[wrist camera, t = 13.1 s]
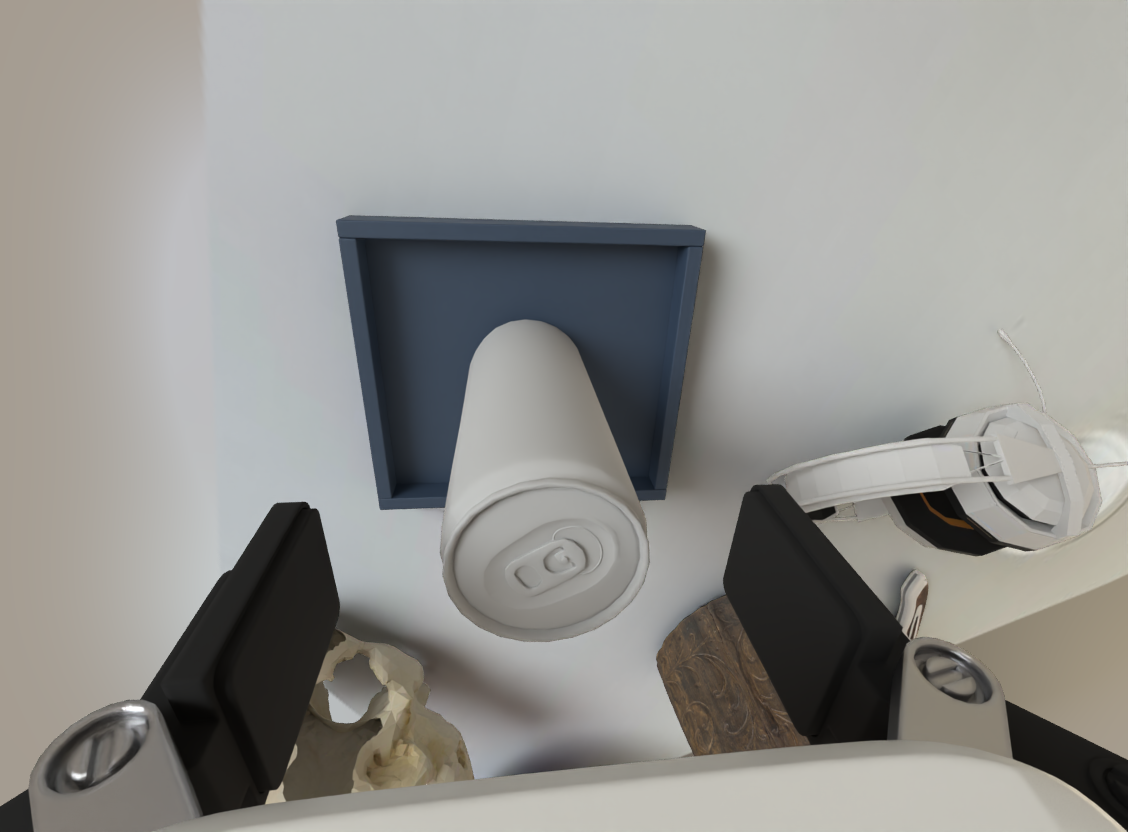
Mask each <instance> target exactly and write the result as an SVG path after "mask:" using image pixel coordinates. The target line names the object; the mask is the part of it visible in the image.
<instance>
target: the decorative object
mask: <svg viewBox="0 0 1128 832" xmlns="http://www.w3.org/2000/svg"><path fill="white" fill-rule="evenodd" d="M355 654H363V655H365V656H367V657H369V658H370V660H369V664H370V665H369V666H370V668H371V669H373V671H374V674H375V675H376V677H377V679H378V680H379V681H381V683H382V685H386V686H387V687H383V689H382V691H381V692H379V693H377V694H376V695H375V696H374V697H373V698H372V699H371V701H370V704H369V707H368V710H367V712H366V713H365V714H364V715H363V716H362V718H361V719H360V720H359V721H357V722H355V723H348V724H344V723H336V722H333V721H332V719H331V715H330V711H329V702H328V696H329V694H328V690H327V689H326V688H325V687H324V684H323V681H324V680H329V681H331V682H332V681H333V679H334V678H335V677H334V676H333V672H334V669H335V667H336V664H338V663H340V662H343V661H346V660H351V659H353V657H354V655H355ZM423 680H424V673H423V668H422V665H421V664H420V663H419V662H418V661H417V660H416V659H414V658H412V657H410V656H408V655H406V654H405V653H403V652H402V651H400V650H399V649H397V648H396V647H394V646H391V645H389V644H384V643H370V642H363V641H360V640H358V639H356V638H354V637H352V636H350V635H348V634H346V633H344V632H342V631H340V630H338V629H336V628H335V629H334V632H333V635H332V638H331V641H330V644H329V647H328V650H327V653H326V655H325V658H324V661H323V664H322V667H321V670H320V673H319V676H318V679H317V682H316V685H315V688H314V691H313V694H312V696H311V699H310V702H309V705H308V708H307V711H306V714H305V717H304V720H303V723H302V726H301V729H300V732H299V735H298V737H297V740H296V743H295V746H294V749H293V752H292V755H291V758H290V761H289V764H288V767H287V770H286V773H285V776H284V778H283V781H282V783H281V785H280V787H279V788H278V789H277V790H271V791H270V792H269V794H268V797H267V800H266V803H265V804H272V803H279V802H287V801H295V800H303V799H311V798H318V797H326V796H334V795H342V794H350V793H358V792H365V791H374V790H383V789H392V788H401V787H411V786H420V785H426V784H427V785H429V784H438V783H447V782H456V781H465V780H474V776H473V771H472V766H471V762H470V759H469V755H468V752H467V749H466V746H465V743H464V740H463V738H462V736H461V733H460V732H459V731H458V730H457V729H456V728H455V727H454V726H453V724H451V723H448V722H447V721H446V720H445V719H444V718H443V717H442V716H441V715H440V714H438V713H435V712H433V711H431V710H429V709H427V708H425V705H426V702H427V699H428V696H429V694H430V691H431V690H430V688H429V687H428V685H427V684H425V683H423Z"/></svg>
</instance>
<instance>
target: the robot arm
mask: <svg viewBox="0 0 1128 832" xmlns="http://www.w3.org/2000/svg"><path fill="white" fill-rule="evenodd" d="M723 585H724V590H725V593H726V595H727V597H728V599H729V601H730V603H731V605H732V607H733V609H734V611H735V613H736V615H737V616H738V618H739V620H740V622H741V624H742V626H743V628H744V630H745V632H746V634H747V636H748V638H749V640H750V642H751V644H752V646H753V648H754V649H755V651H756V653H757V655H758V657H759V659H760V661H761V663H762V665H763V667H764V669H765V671H766V673H767V675H768V677H769V679H770V680H771V682H772V684H773V686H774V688H775V690H776V692H777V694H778V696H779V698H780V700H781V702H782V704H783V706H784V708H785V710H786V711H787V713H788V715H789V717H790V719H791V721H792V723H793V725H794V727H795V729H796V730H797V732H798V733H799V734H800V735H802V736H806V737H807V739H808V741H809V743H810V744H811V745H809V746H797V747H786V748H775V749H765V750H755V751H745V752H735V753H725V754H715V755H704V756H694V757H684V758H674V759H664V760H654V761H645V762H635V763H625V764H616V765H606V766H596V767H587V768H577V769H568V770H558V771H549V772H539V773H530V774H520V775H511V776H502V777H492V778H483V779H474V780H465V781H456V782H447V783H438V784H429V785H420V786H411V787H401V788H392V789H383V790H374V791H365V792H358V793H350V794H342V795H334V796H326V797H318V798H311V799H303V800H295V801H287V802H279V803H272V804H265V803H266V800H267V797H268V794H269V792H270V791H271V790H277V789H278V788H279V787H280V785H281V783H282V781H283V778H284V776H285V773H286V770H287V767H288V764H289V761H290V758H291V755H292V752H293V749H294V746H295V743H296V740H297V737H298V735H299V732H300V729H301V726H302V723H303V720H304V717H305V714H306V711H307V708H308V705H309V702H310V699H311V696H312V694H313V691H314V688H315V685H316V682H317V679H318V676H319V673H320V670H321V667H322V664H323V661H324V658H325V655H326V653H327V650H328V647H329V644H330V641H331V638H332V635H333V632H334V629H335V626H336V623H337V620H338V617H339V610H340V602H339V597H338V592H337V588H336V584H335V579H334V575H333V571H332V566H331V562H330V558H329V553H328V549H327V545H326V540H325V536H324V532H323V527H322V523H321V519H320V514H319V511H318V510H317V509H310V506H309V505H308V503H306V502H289V503H276V504H274V505H273V507H272V508H271V510H270V511H269V513H268V514H267V516H266V517H265V519H264V521H263V522H262V524H261V525H260V527H259V528H258V530H257V532H256V533H255V535H254V536H253V538H252V540H251V541H250V543H249V544H248V546H247V547H246V549H245V551H244V552H243V554H242V555H241V557H240V558H239V560H238V562H237V563H236V565H235V566H234V568H233V570H229V571H227V572H226V573H224V574H223V575H222V576H221V577H220V578H219V580H218V581H217V583H216V584H215V586H214V587H213V589H212V590H211V592H210V593H209V595H208V596H207V598H206V600H205V601H204V602H203V604H202V606H201V607H200V609H199V610H198V612H197V614H196V615H195V616H194V618H193V619H192V621H191V622H190V624H189V626H188V627H187V629H186V631H185V632H184V633H183V635H182V636H181V638H180V639H179V641H178V642H177V644H176V645H175V647H174V649H173V650H172V652H171V653H170V655H169V656H168V658H167V659H166V661H165V662H164V664H163V665H162V667H161V668H160V670H159V672H158V673H157V675H156V676H155V678H154V679H153V681H152V682H151V684H150V685H149V687H148V688H147V690H146V691H145V693H144V695H143V696H142V698H141V699H140V700H126V701H122V702H118V703H114V704H110V705H108V706H106V707H103V708H101V709H99V710H96V711H94V712H92V713H90V714H88V715H87V716H85V717H84V718H82V719H80V720H79V721H77V722H76V723H74V724H73V725H71V726H70V727H69V728H68V729H66V730H65V731H64V732H63V733H62V734H61V735H60V736H58V737H57V738H56V739H55V740H54V741H53V742H52V743H51V744H50V745H49V746H48V748H47V749H46V750H45V751H44V753H43V754H42V755H41V756H40V757H39V759H38V761H37V763H36V765H35V767H34V769H33V770H32V772H31V775H30V781H29V789H27V790H26V791H24V792H23V793H21V794H19V795H18V796H16V797H15V798H13V799H11V800H10V801H8V802H7V803H5V804H3V805H2V806H0V832H1128V760H1127V759H1125V758H1122V757H1120V756H1119V755H1116V754H1114V753H1112V752H1110V751H1108V750H1106V749H1104V748H1102V747H1100V746H1098V745H1096V744H1094V743H1092V742H1090V741H1088V740H1086V739H1084V738H1082V737H1080V736H1078V735H1076V734H1073V733H1072V732H1070V731H1067V730H1065V729H1063V728H1061V727H1059V726H1057V725H1055V724H1053V723H1051V722H1049V721H1047V720H1045V719H1043V718H1041V717H1039V716H1037V715H1035V714H1033V713H1031V712H1029V711H1027V710H1025V709H1022V708H1020V707H1019V706H1017V705H1015V704H1012V703H1010V702H1008V701H1006V700H1005V696H1004V693H1003V690H1002V687H1001V684H1000V683H999V681H998V680H997V678H996V677H995V675H994V674H993V673H992V671H991V670H990V669H988V668H987V667H986V666H985V665H984V664H983V663H982V662H981V661H980V660H978V659H977V658H976V657H974V656H973V655H972V654H970V653H969V652H967V651H966V650H964V649H962V648H960V647H958V646H956V645H954V644H952V643H950V642H946V641H943V640H940V639H937V638H929V637H920V638H915V639H912V640H911V641H910V640H909V639H908V638H907V636H906V635H905V634H904V633H903V632H902V629H903V627H902V625H901V624H900V623H899V622H898V621H897V620H896V618H895V617H894V616H893V615H892V614H891V613H890V611H889V610H888V609H887V608H886V607H885V605H884V604H883V603H882V602H881V601H880V600H879V598H878V597H877V596H876V595H875V594H874V593H873V591H872V590H871V589H870V588H869V587H868V586H867V584H866V583H865V582H864V581H863V580H862V579H861V577H860V576H859V575H858V574H857V573H856V571H855V570H854V569H853V568H852V567H851V566H850V564H849V563H848V562H847V561H846V560H845V559H844V557H843V556H842V555H841V554H840V553H839V552H838V550H837V549H836V548H835V547H834V546H833V544H832V543H831V542H830V541H829V540H828V539H827V537H826V536H825V535H824V534H823V533H822V532H821V530H820V529H819V528H818V527H817V526H816V525H815V523H814V522H813V521H812V520H811V519H810V517H809V516H808V515H807V514H806V513H805V512H804V510H803V509H802V508H801V507H800V506H799V505H798V503H797V502H796V501H795V500H794V499H793V498H792V496H791V495H790V494H789V493H788V492H787V490H786V489H785V488H784V487H783V486H782V485H779V484H770V485H755V486H753V487H752V488H751V491H750V492H746V493H745V494H744V497H743V501H742V505H741V509H740V513H739V517H738V521H737V525H736V529H735V533H734V537H733V541H732V545H731V549H730V553H729V557H728V561H727V565H726V569H725V573H724V578H723Z"/></svg>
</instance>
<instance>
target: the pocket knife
mask: <svg viewBox="0 0 1128 832" xmlns="http://www.w3.org/2000/svg"><path fill="white" fill-rule="evenodd" d="M927 594H928V581H927V579H926V577H925V575H924V574H923V573H921V572H920V571H919V570H914V571H912V572H911V573H910V575H909V576H908V577H907V579H906V580H905V582H904V583H903V585H902V587H901V602H900V607H899V610H898V614H897V616H896V620H897V621H898V622H899V623H900V624H901V625H902V627H903V629H902V632H903V633H904V634H905V635H906V636H907V638H908V639H909V640H910V641H911V640H912V639H915V638H916V636H917V633H918V630H919V626H920V623H921V619H922V616H923V612H924V609H925V605H926V600H927Z"/></svg>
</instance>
